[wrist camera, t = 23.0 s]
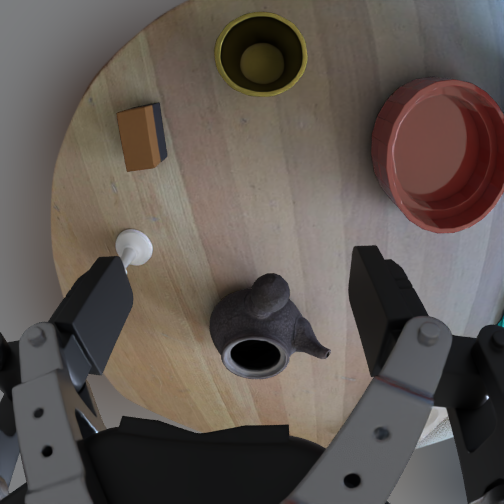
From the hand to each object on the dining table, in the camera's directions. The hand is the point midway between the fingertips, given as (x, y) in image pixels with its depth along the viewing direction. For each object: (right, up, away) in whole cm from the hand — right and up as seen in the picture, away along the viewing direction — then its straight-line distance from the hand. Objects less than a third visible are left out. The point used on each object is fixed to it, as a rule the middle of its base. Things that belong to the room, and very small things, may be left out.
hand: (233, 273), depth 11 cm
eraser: (-10, +13, +20) cm, 26 cm away
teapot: (+3, -5, +31) cm, 32 cm away
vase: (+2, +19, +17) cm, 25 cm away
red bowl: (+21, +13, +20) cm, 31 cm away
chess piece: (-14, +2, +28) cm, 31 cm away
